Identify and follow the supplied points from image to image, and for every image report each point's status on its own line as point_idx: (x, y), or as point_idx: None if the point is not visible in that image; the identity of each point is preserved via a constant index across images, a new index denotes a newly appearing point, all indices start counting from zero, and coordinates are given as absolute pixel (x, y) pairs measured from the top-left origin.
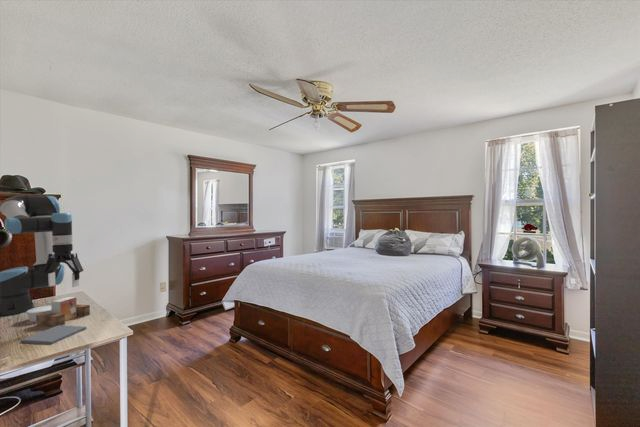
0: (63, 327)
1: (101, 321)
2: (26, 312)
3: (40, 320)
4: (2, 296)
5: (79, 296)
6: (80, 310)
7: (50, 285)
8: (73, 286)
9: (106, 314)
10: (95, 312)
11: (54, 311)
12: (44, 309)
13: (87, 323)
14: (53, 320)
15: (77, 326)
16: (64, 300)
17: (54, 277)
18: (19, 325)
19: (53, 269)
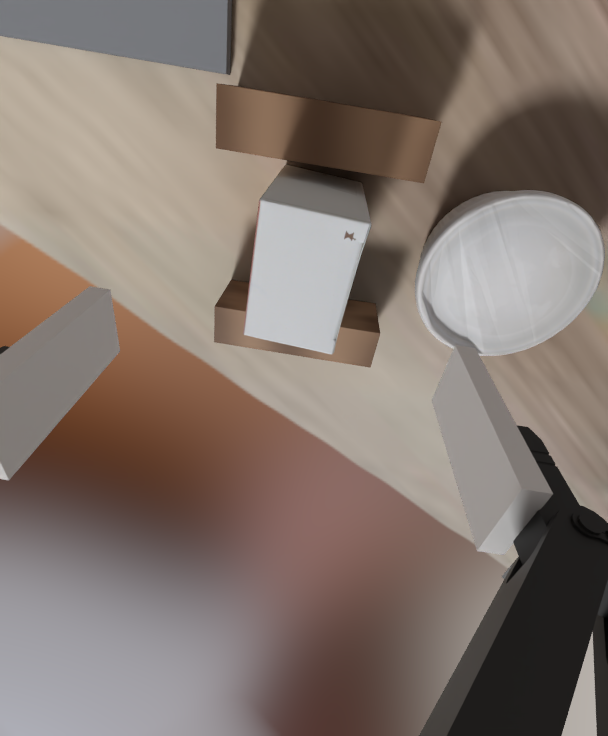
0: (139, 17)
1: (40, 189)
2: (590, 216)
3: (396, 113)
4: None
5: None
6: None
7: (454, 357)
8: (89, 291)
9: (131, 307)
10: None
11: (333, 191)
12: (476, 270)
13: (95, 154)
14: (272, 92)
15: (52, 41)
16: (260, 245)
17: (460, 470)
18: (568, 131)
19: (501, 596)
